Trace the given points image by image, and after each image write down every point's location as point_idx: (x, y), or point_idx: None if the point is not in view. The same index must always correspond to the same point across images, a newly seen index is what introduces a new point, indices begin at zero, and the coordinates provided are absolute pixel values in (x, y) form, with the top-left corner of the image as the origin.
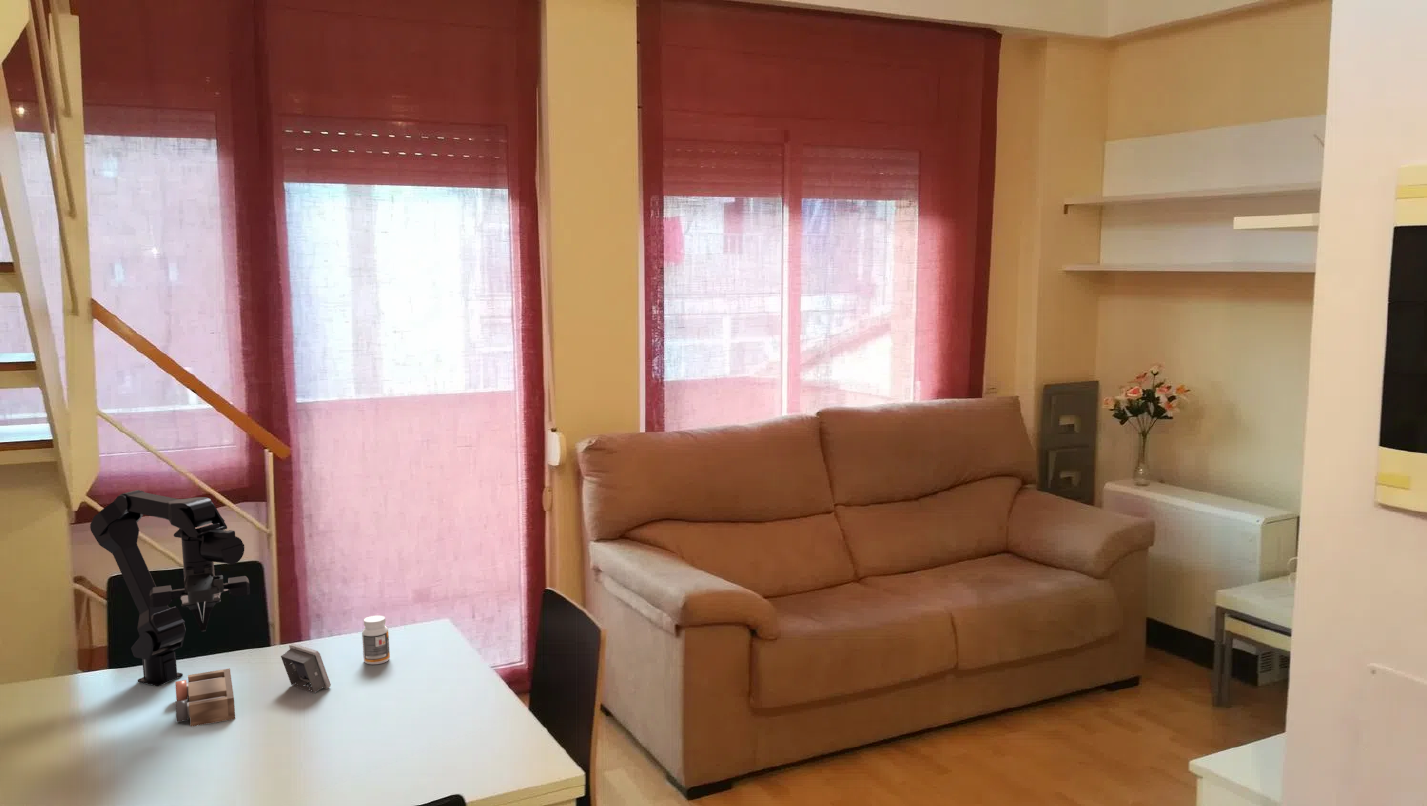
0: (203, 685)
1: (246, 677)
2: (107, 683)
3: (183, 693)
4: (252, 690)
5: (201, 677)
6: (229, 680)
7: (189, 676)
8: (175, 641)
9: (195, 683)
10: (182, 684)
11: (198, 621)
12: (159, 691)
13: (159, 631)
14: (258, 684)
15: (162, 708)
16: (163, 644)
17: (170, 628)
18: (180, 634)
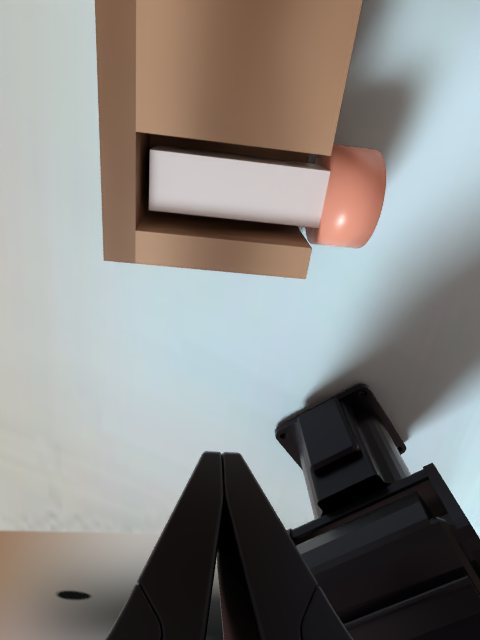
0: (265, 52)
1: (63, 316)
2: (468, 473)
3: (344, 146)
4: (32, 147)
5: (248, 237)
6: (109, 43)
7: (304, 254)
8: (330, 535)
9: (299, 122)
10: (353, 174)
11: (274, 539)
12: (369, 342)
13: (469, 581)
14: (9, 210)
15: (411, 157)
16: (403, 509)
17: (380, 609)
18: (312, 568)
